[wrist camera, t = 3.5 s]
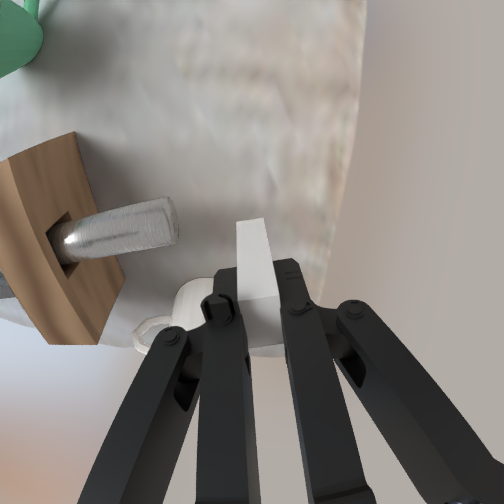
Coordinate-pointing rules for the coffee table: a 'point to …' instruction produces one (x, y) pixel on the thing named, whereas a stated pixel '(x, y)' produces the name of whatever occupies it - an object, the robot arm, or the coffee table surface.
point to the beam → (39, 249)
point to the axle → (115, 231)
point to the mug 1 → (18, 34)
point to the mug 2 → (178, 311)
